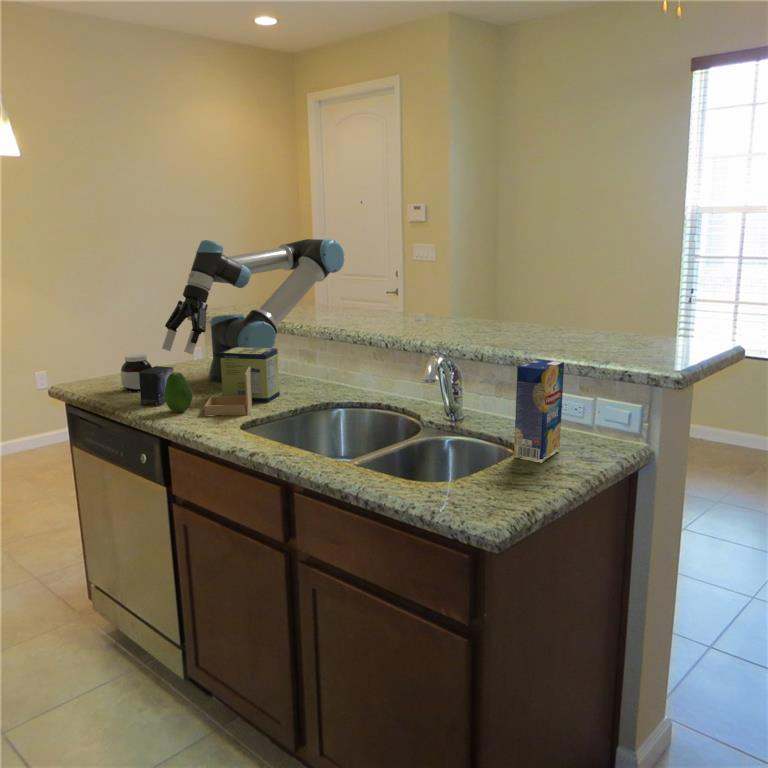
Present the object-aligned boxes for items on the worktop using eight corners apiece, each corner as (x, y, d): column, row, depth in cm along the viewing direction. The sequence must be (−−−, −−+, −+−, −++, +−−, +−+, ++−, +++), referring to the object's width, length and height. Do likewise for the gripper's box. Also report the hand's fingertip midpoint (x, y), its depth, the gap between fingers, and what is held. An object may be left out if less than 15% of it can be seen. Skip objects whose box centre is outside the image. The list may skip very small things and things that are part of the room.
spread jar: (125, 393, 231) (122, 359, 229) (118, 387, 241) (115, 353, 238) (162, 389, 237) (159, 355, 235) (154, 383, 247) (151, 350, 244)
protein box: (235, 393, 231) (232, 346, 228) (280, 395, 228) (278, 348, 225) (221, 401, 221) (218, 352, 218) (268, 403, 218) (266, 353, 215)
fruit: (199, 410, 210) (197, 371, 207) (180, 416, 203) (177, 376, 200) (179, 407, 214) (176, 368, 211) (159, 413, 207) (156, 373, 204)
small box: (159, 406, 215) (157, 373, 213) (140, 405, 216) (137, 372, 214) (176, 398, 225) (174, 366, 223) (157, 397, 226) (155, 365, 224)
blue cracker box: (559, 451, 170) (564, 361, 165) (541, 463, 162) (545, 369, 157) (533, 446, 174) (537, 358, 169) (513, 458, 165) (517, 366, 161)
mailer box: (210, 406, 215) (208, 367, 212) (252, 405, 216) (250, 366, 213) (205, 416, 203) (202, 375, 201) (248, 415, 205) (246, 374, 202)
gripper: (167, 283, 230) (147, 344, 227) (209, 283, 212) (187, 350, 209) (187, 292, 235) (167, 352, 232) (229, 293, 218) (208, 358, 215)
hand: (176, 351), depth 221 cm, fingers open, 13 cm apart
